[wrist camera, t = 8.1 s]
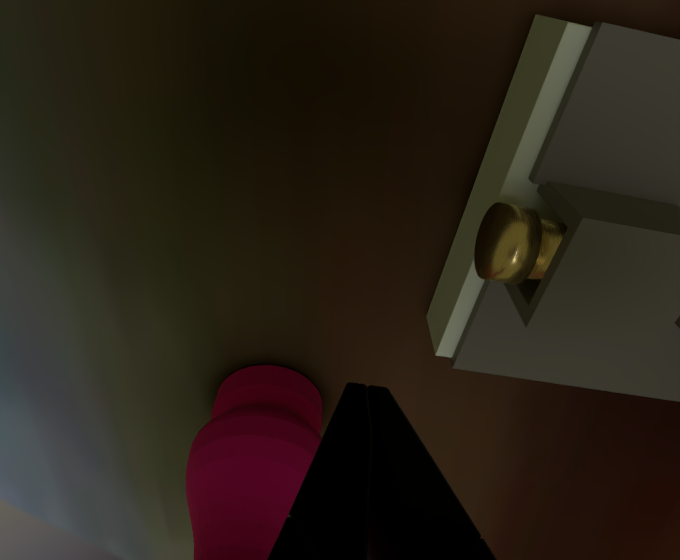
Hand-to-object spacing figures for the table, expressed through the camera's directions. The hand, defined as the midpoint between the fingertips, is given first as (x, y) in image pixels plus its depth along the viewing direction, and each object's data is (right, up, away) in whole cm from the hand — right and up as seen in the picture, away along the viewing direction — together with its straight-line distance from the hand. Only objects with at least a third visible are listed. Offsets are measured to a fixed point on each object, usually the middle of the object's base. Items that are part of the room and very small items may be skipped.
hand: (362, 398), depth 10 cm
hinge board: (+12, +5, +12) cm, 18 cm away
